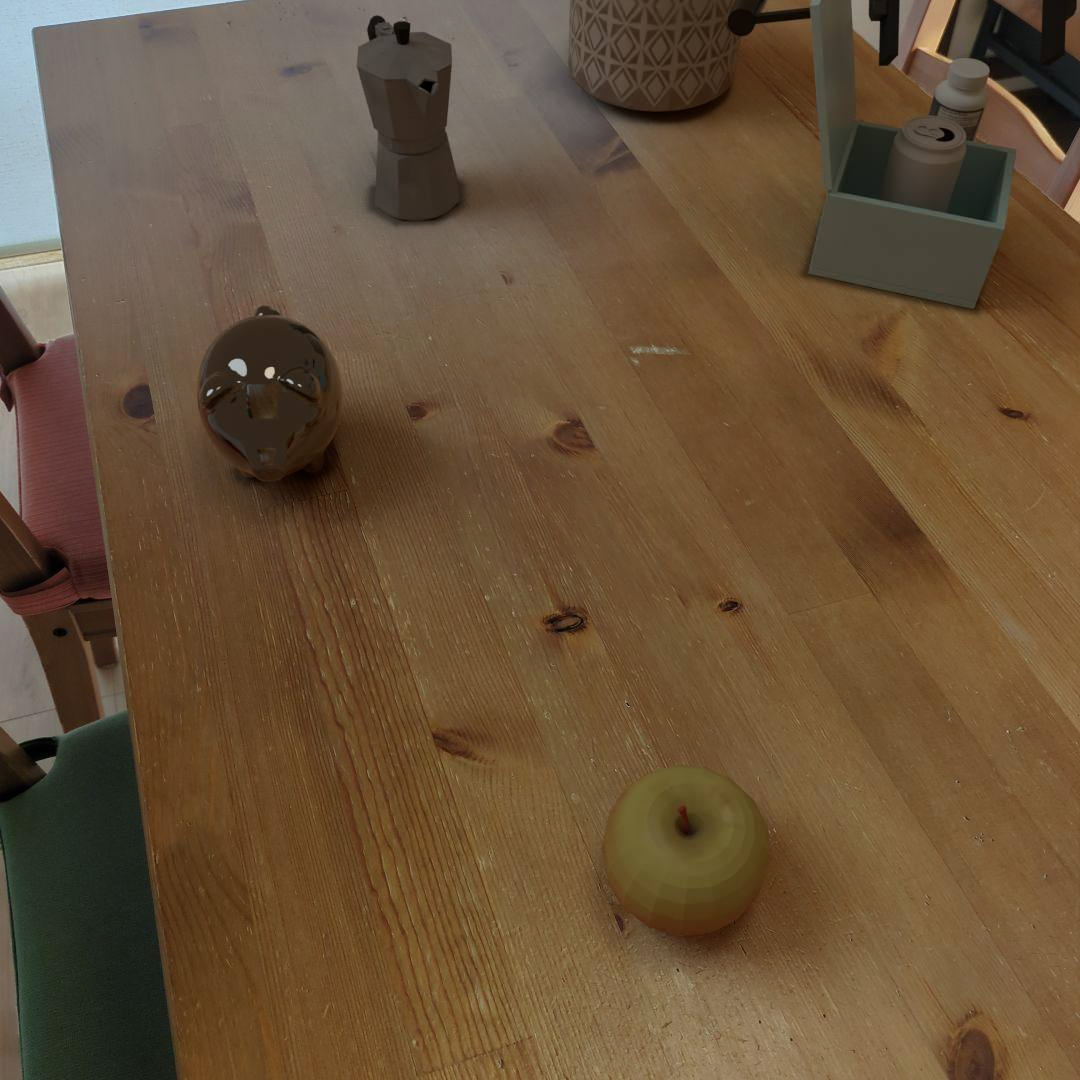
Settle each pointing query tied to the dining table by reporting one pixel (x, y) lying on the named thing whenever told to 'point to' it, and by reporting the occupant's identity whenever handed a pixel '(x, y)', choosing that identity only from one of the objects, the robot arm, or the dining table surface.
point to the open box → (913, 224)
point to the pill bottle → (963, 95)
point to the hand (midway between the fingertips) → (970, 61)
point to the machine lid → (819, 68)
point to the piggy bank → (270, 395)
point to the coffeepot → (409, 119)
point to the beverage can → (924, 163)
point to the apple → (685, 850)
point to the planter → (652, 51)
